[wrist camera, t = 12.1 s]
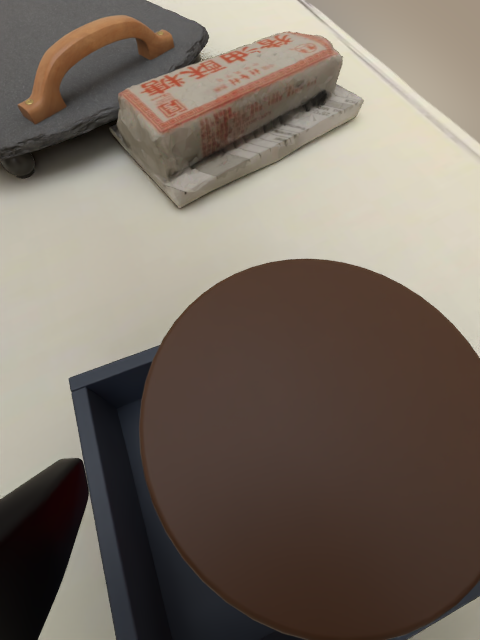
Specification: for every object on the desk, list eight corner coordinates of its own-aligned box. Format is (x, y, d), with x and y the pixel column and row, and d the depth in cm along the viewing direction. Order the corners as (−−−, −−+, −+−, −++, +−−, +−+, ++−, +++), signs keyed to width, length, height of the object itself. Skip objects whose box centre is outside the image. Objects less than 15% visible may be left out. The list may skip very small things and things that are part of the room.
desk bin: (445, 549, 15) (525, 569, 11) (175, 699, 12) (144, 798, 8) (317, 325, 20) (337, 280, 16) (108, 405, 17) (68, 377, 13)
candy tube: (331, 502, 15) (612, 521, 4) (233, 549, 14) (210, 757, 3) (286, 404, 17) (378, 223, 6) (198, 440, 16) (102, 313, 5)
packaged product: (165, 152, 19) (88, 75, 23) (179, 215, 24) (112, 141, 27) (381, 52, 24) (290, 2, 28) (360, 119, 29) (283, 68, 32)
